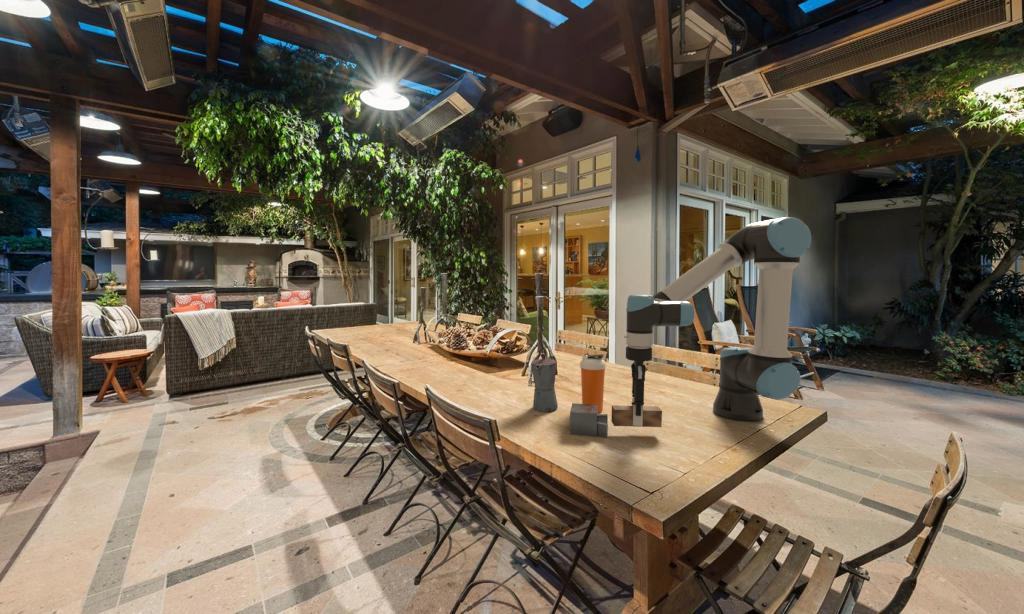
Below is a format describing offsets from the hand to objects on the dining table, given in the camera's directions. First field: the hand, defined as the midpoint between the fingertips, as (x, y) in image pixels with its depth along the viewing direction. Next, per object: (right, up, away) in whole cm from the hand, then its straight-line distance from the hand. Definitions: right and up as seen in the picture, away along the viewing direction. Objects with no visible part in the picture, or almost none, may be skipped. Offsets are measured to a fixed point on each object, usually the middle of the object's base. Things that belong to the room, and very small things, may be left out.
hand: (636, 422), depth 123 cm
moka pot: (-26, -2, +25) cm, 36 cm away
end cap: (-14, -4, +4) cm, 15 cm away
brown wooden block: (0, -1, 0) cm, 1 cm away
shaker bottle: (-9, -2, +22) cm, 24 cm away
